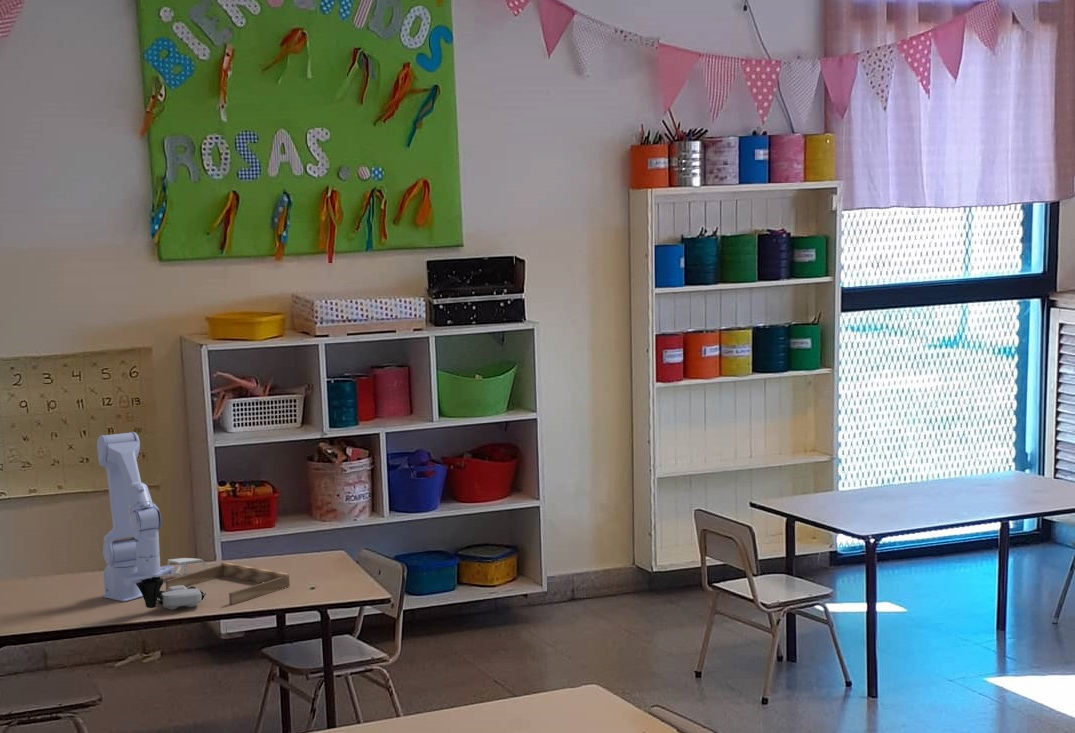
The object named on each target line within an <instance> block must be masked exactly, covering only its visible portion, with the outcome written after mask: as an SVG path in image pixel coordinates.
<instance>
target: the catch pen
mask: <svg viewBox="0 0 1075 733" xmlns="http://www.w3.org/2000/svg"><path fill="white" fill-rule="evenodd" d="M228 576H229V577H230V578H233V577H234V579H239V578H240V580H244V579H246V580H245V581H249V580H252V581H251V582H255V581H258V582H257V584H254V585H251V586H247V587H245V588H242V589H238V590H235V591H232V592H229V593H228V596H229V597H228V598H229V600H228V601H229V605H230V606H233V605H237V604H240V603H243V602H246V601H249V600H253V599H256V598H259V597H262V596H265V595H267V594H266V593H268V594H271V593H270V592H272V593H274V592H273V591H275V592H277V591H276V590H278V589H281V590H283V589H282V588H284V589H286V588H285V587H287V588H289V587H288V586H290V587H291V585H290V584H291V583H290V573H288V572H287V573H286V572H280V571H277V570H270V569H264V568H261V567H253V566H249V565H242V564H238V563H231V562H227V561H226V562H225V561H222V562H220V565H219V564H218V565H216V566H212V567H209V568H208V569H207V568H205V569H202V570H199V571H195V572H192V573H187V574H186V575H185V574H184V575H183V576H177V577H174V578H171V579H167V580H165V590H166V591H165V592H167V589H168V587H171V586H178V585H184V586H185V587H186V588H187V587H188V588H189V587H191V586H194V585H197V584H200V583H204V582H207V581H211V580H214V579H218V578H221V577H228ZM229 577H228V578H229ZM260 582H264V583H260ZM278 591H279V590H278ZM264 594H265V595H264ZM261 595H262V596H261Z"/></svg>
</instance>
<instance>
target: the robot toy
mask: <svg viewBox="0 0 1075 733" xmlns="http://www.w3.org/2000/svg"><path fill="white" fill-rule="evenodd" d="M206 595H208V592H205V593H204V592H203V591H202V590H200V589H199V588H197V587H196V586H194V585H191V586H188V588H187V587H185V586H184V585H178V586H171V587H168V589H167V592H166V591H165V590H160V591H159V593H158V597H157V602H156V603H158V604H159V605H161V606H162V607H164V608H166V609H167V610H170V611H173V610H177V609H178V608H179V607H184V606H185V607H187V608H195V607H196V606H197V605H198V604H200V603H201V602H202V601H203V600H204V599H205V596H206Z"/></svg>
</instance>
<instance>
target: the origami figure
mask: <svg viewBox="0 0 1075 733" xmlns="http://www.w3.org/2000/svg"><path fill="white" fill-rule="evenodd" d="M171 563H172V564H177V565H178V566H177V568H176V571H174V574H176V575H178V577H180V576H184V575H187V574H188V573H187V572H188V564H189V565H190V564H197V563H202V565H204V566H205V569H208V568H210V567H209V566H208V565H207V564H206V562H205V560H203V559H200V558H195V557H194V558H193V557H191V558H190V557H180V558H179V557H178V558H170V559H167V565H166V566H169V565H170V566H171ZM183 566H184V575H183V574H182V573H181V572H180V571H181V569H182V567H183ZM169 575H170V576H169V577H172V575H173V574H169Z"/></svg>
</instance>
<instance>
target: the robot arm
mask: <svg viewBox="0 0 1075 733" xmlns="http://www.w3.org/2000/svg"><path fill="white" fill-rule="evenodd" d="M139 437H140V436H139V435H138V434H137V433H136V431H131V432H124V433H115V434H106V435H103V434H102V435H101V434H100V436H98V438H97V441H96V442H97V443H96V450H97V459H98V463H99V464H98V465H99V466H100V467H103V468H105V473H106V478H107V486H108V494H109V502H110V503H109V504H110V513H111V520H112V521H111V522H112V529H111V530H109V532H108V533H106V534H105V535H104V537H103V540H102V541H103V546H102V554H103V559H104V562H105V563H106V564H107V565H106V566H105V567H104V570H103V582H104V583H103V584H104V586H103V587H104V594H102V596H101V597H102V598H105V599H109V600H114V601H119V602H124V603H125V602H128V601H132V600H135V599H139V598H142V597H143V600H144V603H145V607H146V608H148V609H153V608H156V606H157V603H158V602H157V600H158V598H157V597H158V593H159V591H161V587H162V586H163V584H164V578H161V577H163V576H167V575H171V574H172V575H174V574H175V566H174V565H171V564H170V565H169V566H167V565H165V566H161V556H160V555H161V554H160V553H161V552H160V537H159V536H160V535H159V530H160V529H161V528H162V515H161V511H160V508H159V507H158V506H157V504H156V503H154V502H153V499H152V497H151V494H150V490H149V487H148V485H147V484H146V483H144V482H142V479H141V474H140V470H139V465H138V462H137V459H138V457H139V453H140V450H141V443H140V438H139ZM119 539H120V540H119Z"/></svg>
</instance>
